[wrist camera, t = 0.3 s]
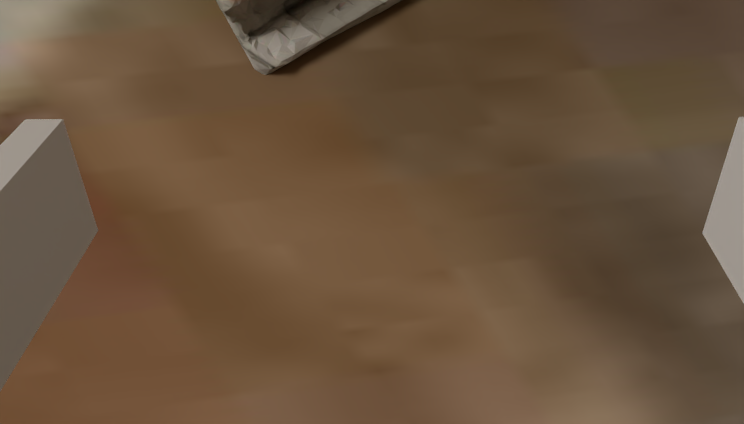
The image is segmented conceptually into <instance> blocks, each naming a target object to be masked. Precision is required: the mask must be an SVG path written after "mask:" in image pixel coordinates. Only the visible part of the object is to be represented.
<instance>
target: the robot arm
mask: <svg viewBox="0 0 744 424" xmlns="http://www.w3.org/2000/svg"><path fill="white" fill-rule="evenodd" d="M97 232H98V229H97V225H96V222H95V219H94V216H93V213H92V210H91V206H90V203H89V200H88V197H87V194H86V191H85V187H84V184H83V181H82V178H81V175H80V172H79V169H78V165H77V162H76V159H75V156H74V153H73V150H72V146H71V143H70V140H69V137H68V134H67V131H66V127H65V124H64V121H63V119H25V120H24V121H23V122H22V123H21V124H20V125H19V127H18V128H17V129H16V130H15V131H14V132H13V133H12V134H11V135H10V136H9V137H8V138H7V139H6V140H5V141H4V142H3V143H2V144H1V145H0V391H1V389H2V387H3V386H4V384H5V382H6V381H7V379H8V378H9V376H10V374H11V373H12V371H13V369H14V368H15V366H16V364H17V363H18V361H19V360H20V358H21V356H22V355H23V353H24V351H25V350H26V348H27V346H28V345H29V343H30V341H31V340H32V338H33V337H34V335H35V333H36V332H37V330H38V328H39V327H40V325H41V323H42V322H43V320H44V318H45V317H46V315H47V314H48V312H49V310H50V309H51V307H52V305H53V304H54V302H55V300H56V299H57V297H58V296H59V294H60V292H61V291H62V289H63V287H64V286H65V284H66V282H67V281H68V279H69V277H70V276H71V274H72V273H73V271H74V269H75V268H76V266H77V264H78V263H79V261H80V259H81V258H82V256H83V254H84V253H85V251H86V250H87V248H88V246H89V245H90V243H91V241H92V240H93V238H94V236H95V235H96V233H97ZM702 233H703V235H704V237H705V239H706V240H707V242H708V244H709V245H710V247H711V249H712V250H713V252H714V254H715V256H716V257H717V259H718V261H719V262H720V264H721V266H722V268H723V269H724V271H725V273H726V274H727V276H728V278H729V279H730V281H731V283H732V285H733V286H734V288H735V290H736V291H737V293H738V295H739V297H740V298H741V300H742V302H743V303H744V117H739V118H738V121H737V125H736V128H735V131H734V134H733V137H732V140H731V144H730V147H729V150H728V153H727V156H726V159H725V163H724V166H723V169H722V172H721V175H720V178H719V182H718V185H717V188H716V191H715V194H714V198H713V201H712V204H711V207H710V210H709V213H708V217H707V220H706V223H705V226H704V229H703V232H702Z"/></svg>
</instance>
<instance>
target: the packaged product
mask: <svg viewBox="0 0 744 424" xmlns="http://www.w3.org/2000/svg"><path fill="white" fill-rule="evenodd" d="M216 1H217V3H218V5H219V7H220V10H221V11H222V12H223V14H224V15H225V17H226V19H227V21H228V22H229V24H230V26H231V28H232V29H233V31H234V33H235V35H236V37H237V38H238V40H239V42H240V44H241V46H242V47H243V49H244V51H245V53H246V55H247V56H248V58H249V60H250V62H251V64H252V65H253V67H254V69H255V70H257V71H258V72H260V73H262V74H265V75H267V74H270V73H272V72H274V71H275V70H277V69H279V68H281V67H282V66H284V65H286V64H288V63H289V62H291V61H293V60H294V59H296V58H298V57H299V56H301V55H303V54H304V53H306V52H308V51H309V50H311V49H313V48H314V47H316V46H317V45H319V44H320V43H322V42H324V41H326V40H328V39H330V38H332V37H334V36H336V35H338V34H340V33H342V32H344V31H346V30H347V29H349V28H351V27H353V26H355V25H357V24H359V23H361V22H363V21H365V20H367V19H369V18H371V17H373V16H375V15H377V14H379V13H381V12H382V11H384V10H386V9H388V8H390V7H391V6H393V5H394V4H396V3H398V2H400V1H402V0H216Z"/></svg>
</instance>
